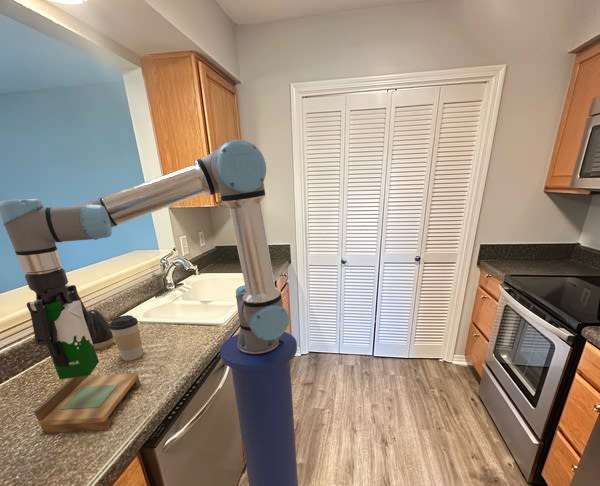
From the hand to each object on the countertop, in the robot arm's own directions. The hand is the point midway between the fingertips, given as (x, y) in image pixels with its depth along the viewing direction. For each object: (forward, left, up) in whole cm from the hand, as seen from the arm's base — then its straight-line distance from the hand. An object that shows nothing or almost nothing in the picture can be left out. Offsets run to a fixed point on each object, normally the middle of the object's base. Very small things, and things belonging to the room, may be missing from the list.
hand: (75, 355), depth 83 cm
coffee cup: (+3, -30, -17) cm, 35 cm away
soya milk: (0, 0, -5) cm, 5 cm away
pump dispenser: (+19, -39, -17) cm, 47 cm away
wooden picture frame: (0, -1, -17) cm, 17 cm away
